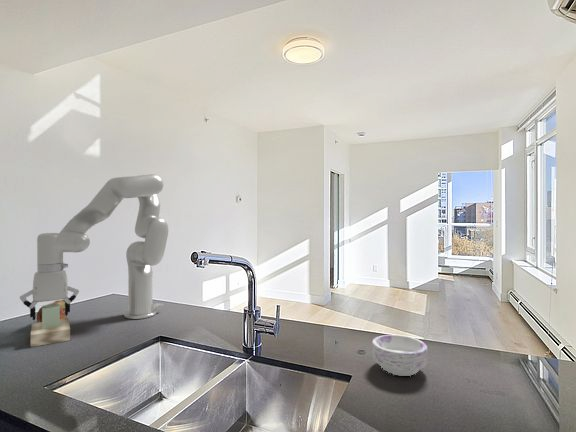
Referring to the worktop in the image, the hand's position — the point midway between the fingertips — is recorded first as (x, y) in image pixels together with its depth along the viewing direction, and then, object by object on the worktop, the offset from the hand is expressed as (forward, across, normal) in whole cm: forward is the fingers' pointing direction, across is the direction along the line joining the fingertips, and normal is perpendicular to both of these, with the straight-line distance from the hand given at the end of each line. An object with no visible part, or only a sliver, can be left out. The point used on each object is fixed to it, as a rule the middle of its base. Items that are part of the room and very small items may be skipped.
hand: (50, 316), depth 122 cm
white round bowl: (+8, -82, +85) cm, 118 cm away
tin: (+8, -1, -17) cm, 19 cm away
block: (+3, 0, 0) cm, 3 cm away
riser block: (+7, 0, 0) cm, 7 cm away
